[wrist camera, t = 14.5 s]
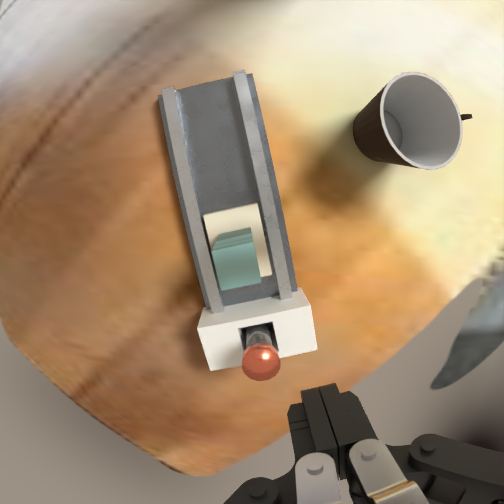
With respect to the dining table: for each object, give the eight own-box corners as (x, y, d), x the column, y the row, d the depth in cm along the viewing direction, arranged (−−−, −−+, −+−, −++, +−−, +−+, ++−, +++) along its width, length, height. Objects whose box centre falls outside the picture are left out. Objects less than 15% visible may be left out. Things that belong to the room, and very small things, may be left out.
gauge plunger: (239, 311, 35) (238, 353, 26) (268, 305, 35) (276, 346, 26) (245, 337, 35) (246, 383, 26) (273, 331, 35) (283, 376, 26)
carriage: (205, 213, 32) (189, 227, 22) (256, 202, 32) (262, 211, 22) (221, 279, 34) (213, 318, 24) (270, 269, 34) (281, 304, 24)
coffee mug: (337, 160, 33) (373, 153, 23) (348, 87, 31) (385, 57, 21) (426, 186, 33) (479, 190, 24) (435, 119, 32) (486, 106, 22)
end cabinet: (203, 307, 36) (197, 328, 30) (300, 287, 35) (310, 305, 30) (214, 345, 37) (210, 370, 31) (307, 326, 36) (317, 349, 31)
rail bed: (160, 97, 31) (153, 91, 28) (251, 76, 30) (252, 68, 28) (215, 333, 36) (213, 344, 34) (301, 316, 36) (305, 325, 34)
